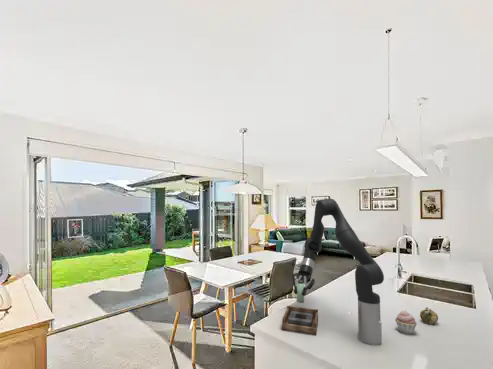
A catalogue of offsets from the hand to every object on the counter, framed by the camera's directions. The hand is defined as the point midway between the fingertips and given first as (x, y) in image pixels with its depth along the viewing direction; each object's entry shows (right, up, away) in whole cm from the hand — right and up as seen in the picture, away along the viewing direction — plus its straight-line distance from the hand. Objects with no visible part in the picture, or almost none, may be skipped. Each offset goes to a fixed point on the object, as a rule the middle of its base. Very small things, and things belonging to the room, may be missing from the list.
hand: (299, 294), depth 149 cm
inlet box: (-2, -10, -14) cm, 17 cm away
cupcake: (+48, -11, -18) cm, 53 cm away
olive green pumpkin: (+66, -12, -8) cm, 68 cm away
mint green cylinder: (+1, -5, +1) cm, 5 cm away
